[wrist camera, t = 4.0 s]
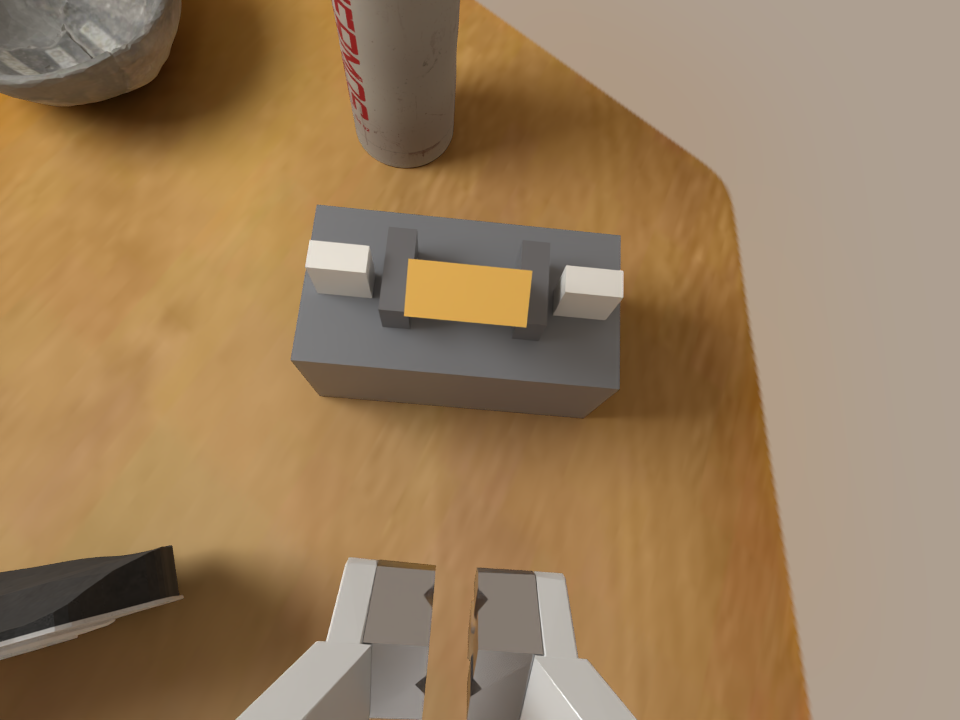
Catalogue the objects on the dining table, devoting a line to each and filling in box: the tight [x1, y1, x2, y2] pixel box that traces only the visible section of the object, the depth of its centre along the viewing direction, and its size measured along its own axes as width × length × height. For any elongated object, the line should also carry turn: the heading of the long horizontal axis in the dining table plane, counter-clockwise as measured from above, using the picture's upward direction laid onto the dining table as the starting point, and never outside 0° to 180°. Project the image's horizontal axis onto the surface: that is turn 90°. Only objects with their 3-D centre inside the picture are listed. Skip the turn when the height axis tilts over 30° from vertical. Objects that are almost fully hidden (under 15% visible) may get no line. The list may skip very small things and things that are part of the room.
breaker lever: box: [404, 259, 532, 327], centre depth 31 cm, size 2×5×11 cm, turn 85°
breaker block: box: [291, 205, 623, 418], centre depth 39 cm, size 10×19×13 cm, turn 86°
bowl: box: [0, 0, 181, 106], centre depth 46 cm, size 18×18×8 cm
